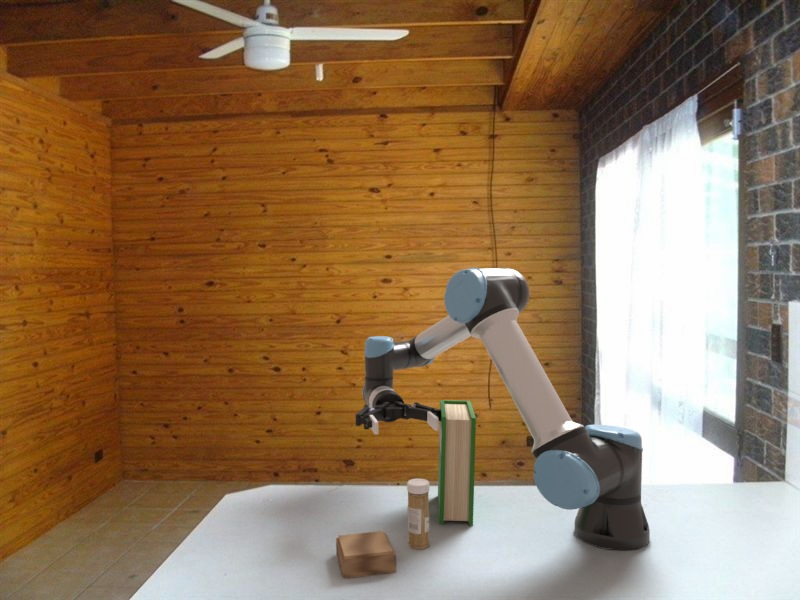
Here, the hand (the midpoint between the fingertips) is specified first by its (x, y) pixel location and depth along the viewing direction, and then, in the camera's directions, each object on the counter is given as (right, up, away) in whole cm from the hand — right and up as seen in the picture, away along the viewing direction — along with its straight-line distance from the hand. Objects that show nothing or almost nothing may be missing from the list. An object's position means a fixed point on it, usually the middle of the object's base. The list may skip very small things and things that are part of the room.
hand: (407, 426), depth 138 cm
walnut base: (-8, -23, -15) cm, 29 cm away
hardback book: (+11, -22, +11) cm, 27 cm away
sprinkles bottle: (+2, -23, -8) cm, 24 cm away
